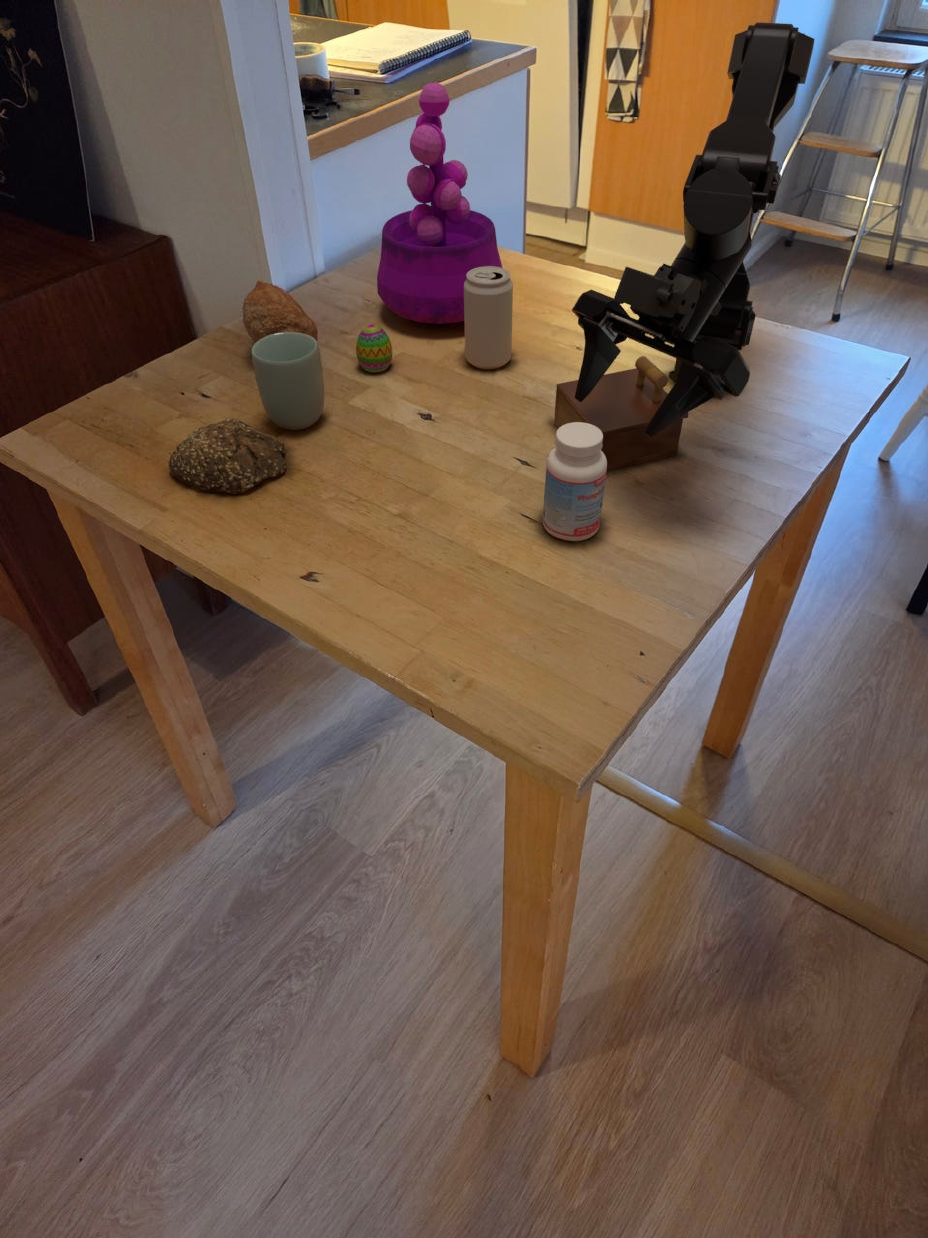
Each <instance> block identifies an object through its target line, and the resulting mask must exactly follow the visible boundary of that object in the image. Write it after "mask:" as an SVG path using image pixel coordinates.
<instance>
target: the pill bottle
mask: <svg viewBox="0 0 928 1238" xmlns="http://www.w3.org/2000/svg"><path fill="white" fill-rule="evenodd" d="M602 443H603V433H602V431H601V430H600V429H599V428H597V427H596V426H594V425H591V424H588V423H582V422H573V423H568V424H565V425H563V426H561V427H560V428H559V429H558V428H557V430H556V433H555V441H554V445H555V447H553V449H551V451H550V452H549V453H548V455H547V459H546V465H545V466H546V467H545V469H546V470H545V481H544V493H543V506H542V507H543V509H542V525H543V528H544V529H545V531H546V532H547V533H548V534H549V535H551V536H553V537H554V538H557V539H560V540H563V541H567V542H568V541H569V542H580V541H584V540H587V539H589V538H591V537H593V536H594V535H595V534H596V533H597V532H599V529H600V526H601V519H602V511H603V504H604V496H605V487H606V480H607V473H608V471H607V460H606V457H605V455H604V453H603V452H602V451H601V449H602V446H603V444H602Z"/></svg>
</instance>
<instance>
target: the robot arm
mask: <svg viewBox="0 0 928 1238" xmlns="http://www.w3.org/2000/svg"><path fill="white" fill-rule="evenodd" d="M732 42H733V43H732V48H731V53H730V58H729V62H728V68H727V73H726V74H727V77H728V80H732V85H731V97H732V98H731V103H730V106H729V109H728V113H727V115H726V118H725V121H723V122H722V123H720V124H719V125H717V126H716V127H714V128H713V129H711V130H710V131H709V132H708V136H707V139H706V142H705V144H704V146H703V150H702V153H701V154H695V156H694V159H693V162H692V165H691V167H690V169H689V172H688V174H687V178H686V180H685V182H684V186H683V189H682V190H683V191H682V202H683V207H682V208H683V209H682V210H683V231H684V232H683V233H684V234H683V236H684V244H683V245H682V246H681V248H680V250H679V252H678V254H676V257H675V259H674V260H673V262H672V263H671V265H669V264H666V263H663V264H661V265H660V266H659V267H658V268H657V270H656V272H655V273H654V274H650V273H647V272H645V271H642V270H638V269H635V268H633V267H630V266H625V268H624V270H623V273H622V276H621V278H620V280H619V284H618V286H617V289H616V290H615V291H616V292H615V294H614V297H612V296H609V295H607V294H604V293H601V292H599V291H597V290H593V289H589V290H587V291H583V292H582V293H581V294H580V295H579V297H578V298H577V299H576V302H575V303H574V305H573V307H572V308H571V311H572V313H573V314H574V315H575V316H576V317H577V318H578V319H577V324H578V326H579V327H580V328H581V329H582V330H583V335H584V349H583V356H582V362H581V366H580V371H579V374H578V375H579V376H578V379H577V380H578V384H577V389H576V393H575V399H576V400H577V401H579V402H582V401H583V400H584V399H585V398H586V397H587V396H588V395H589V394H590V392H591V391H592V390H593V389H594V387H595V386H596V384H597V383H598V382H599V380H600V379H601V378H602V376H603V375H605V374H606V372H607V371H608V370H609V368H610V367H611V366H612V365H613V363H614V362H615V360H616V359H617V358H618V356H619V355H620V353H621V352H622V350H621V349H620V348H619V347H618V345H619V344H621V343H624V342H625V341H627V339H629V340H632V341H635V342H636V343H639V344H641V345H644V346H646V347H649V348H651V349H653V350H655V351H657V352H660V353H662V354H665V355H668V356H670V357H672V358H674V359H675V364H674V370H670V371H669V372H668V378H669V379H672V380H673V381H674V382H675V383H674V384H673V385H672V387H671V389H670V390H669V391H668V392H667V393H668V395H667V396H666V398H665V399H664V401H663V402H662V404H661V405H660V407H659V408H658V410H657V411H656V413H655V414H654V416H653V418H652V419H651V421H650V423H649V425H648V427H647V429H646V431H645V433H646V435H647V436H649V437H653V436H654V435H656V434H657V433H659V432H660V431H661V430H663V429H664V428H666V427H667V426H669V425H670V424H672V423H673V422H674V421H676V420H677V419H679V418H680V417H682V416H683V415H685V414H686V413H690V412H692V411H693V410H695V409H697V408H698V407H700V406H702V405H704V404H706V403H707V402H709V401H710V400H711V401H712V400H713V399H717V400H720V401H721V400H723V399H724V397H725V393H726V394H728V395H730V396H733V397H735V398H737V397H740V395H741V394H742V392H743V391H744V390H745V388H746V386H747V384H748V383H749V380H750V375H751V372H750V367H749V365H748V363H747V361H746V360H745V359H744V357H743V355H742V354H741V352H740V351H742V350H743V347H747V346H749V345H750V342H751V338H752V334H753V329H754V325H755V319H756V315H757V314H756V313H755V311H754V306H753V303H754V302H753V300H748V299H749V295H750V292H751V285H750V280H749V277H748V273H747V270H746V266H745V264H744V260H745V258H746V257H747V255H748V254H749V252H750V250H751V249H752V246H753V244H752V239H753V238H752V234H751V230H752V227H753V221H754V218H755V214H757V213H759V211H766V210H767V207H768V204H775V201H776V197H777V194H778V190H779V187H780V183H781V178H782V175H781V173H780V172H779V168H780V166H779V165H778V162H779V161H775V160H772V158H773V152H774V149H775V142H776V137H777V136H776V134H775V133H774V130H775V128H776V126H778V124H779V123H780V122H781V121H782V120H783V118H784V117H785V116H786V114H787V113H788V112H789V111H790V110H791V109H792V107H793V106H794V104H795V101H796V96H797V92H798V88H799V85H805V84H806V81H807V77H808V73H809V69H810V65H811V60H812V56H813V53H814V52H813V51H814V45H815V38H814V37H812V36H809V35H807V34H806V33H803V32H801V31H799V27H795V26H794V24H793V23H783V22H782V23H781V22H780V23H779V22H762V21H761V22H759V21H757V22H755V23H754V24H750V25H748V27H747V30H744V31H741V32H738V33H736V34H734V37H733V41H732ZM624 304H626V305H628V306H629V309H630V311H631V312H632V313H633V314H634V315H635V316H636V315H637V316H638V318H634V317H631V315H630V314H629V313H628V312H627V311H626V310H625V308H624V307H623V306H622V305H624Z"/></svg>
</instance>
